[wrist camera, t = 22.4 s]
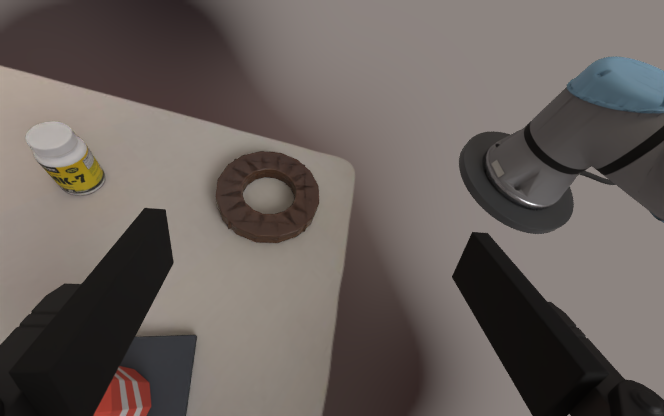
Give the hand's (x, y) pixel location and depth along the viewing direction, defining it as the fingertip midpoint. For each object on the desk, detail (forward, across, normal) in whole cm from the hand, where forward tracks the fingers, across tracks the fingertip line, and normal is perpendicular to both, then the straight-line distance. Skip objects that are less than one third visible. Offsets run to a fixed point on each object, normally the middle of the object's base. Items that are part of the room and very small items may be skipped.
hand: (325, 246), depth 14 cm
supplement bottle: (+27, -27, -13) cm, 41 cm away
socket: (+28, -4, -14) cm, 32 cm away
